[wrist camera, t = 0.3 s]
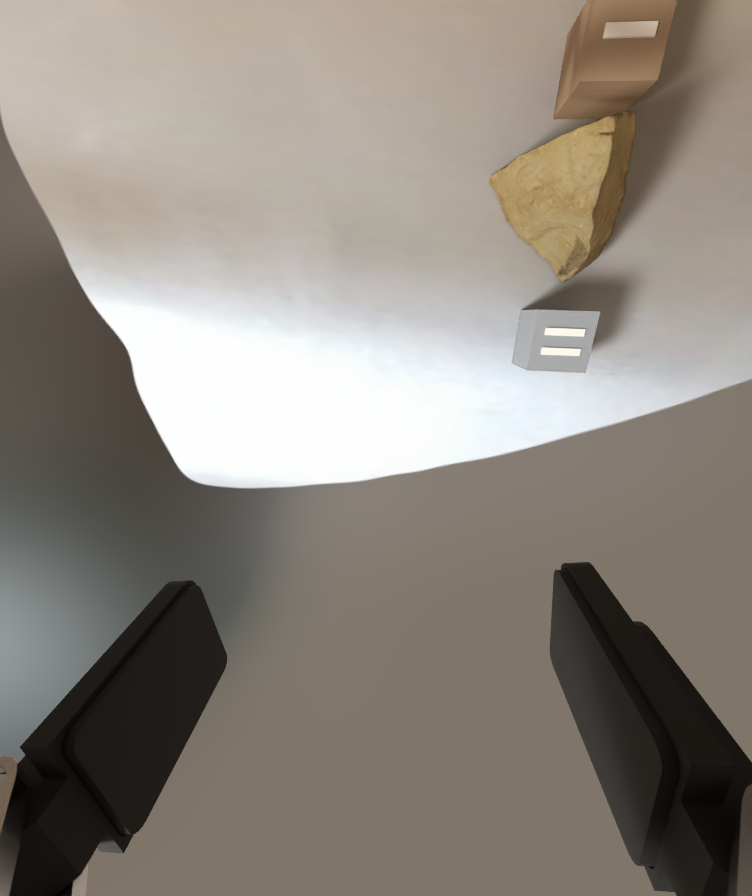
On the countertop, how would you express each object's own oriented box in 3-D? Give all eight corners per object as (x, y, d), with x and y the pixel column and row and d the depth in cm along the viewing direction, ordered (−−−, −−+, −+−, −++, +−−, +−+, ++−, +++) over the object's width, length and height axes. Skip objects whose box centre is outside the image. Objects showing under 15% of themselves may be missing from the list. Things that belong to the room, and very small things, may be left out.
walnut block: (566, 36, 27) (600, -25, 22) (637, 35, 26) (687, -28, 22) (552, 119, 29) (581, 80, 24) (618, 119, 28) (661, 79, 23)
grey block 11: (520, 310, 34) (538, 309, 29) (575, 312, 33) (603, 311, 29) (511, 362, 36) (527, 370, 31) (563, 365, 35) (588, 373, 30)
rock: (631, 273, 30) (655, 120, 25) (607, 290, 25) (631, 102, 20) (507, 285, 37) (507, 168, 32) (467, 301, 31) (461, 163, 27)
